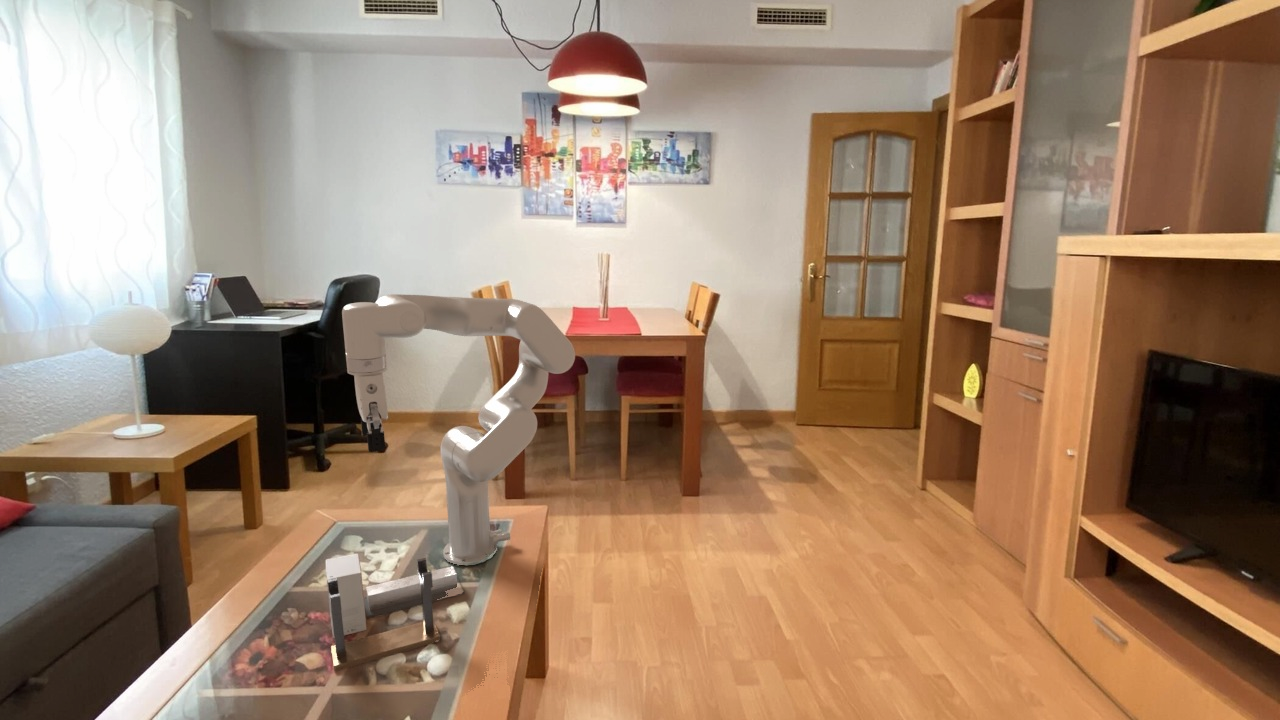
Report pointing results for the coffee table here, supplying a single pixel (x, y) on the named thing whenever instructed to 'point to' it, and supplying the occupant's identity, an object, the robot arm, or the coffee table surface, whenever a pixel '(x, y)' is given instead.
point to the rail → (409, 588)
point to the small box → (348, 591)
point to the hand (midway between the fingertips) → (373, 442)
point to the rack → (385, 641)
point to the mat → (397, 606)
